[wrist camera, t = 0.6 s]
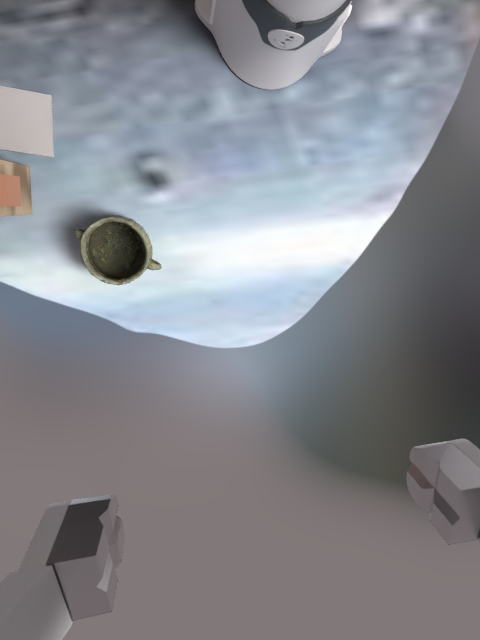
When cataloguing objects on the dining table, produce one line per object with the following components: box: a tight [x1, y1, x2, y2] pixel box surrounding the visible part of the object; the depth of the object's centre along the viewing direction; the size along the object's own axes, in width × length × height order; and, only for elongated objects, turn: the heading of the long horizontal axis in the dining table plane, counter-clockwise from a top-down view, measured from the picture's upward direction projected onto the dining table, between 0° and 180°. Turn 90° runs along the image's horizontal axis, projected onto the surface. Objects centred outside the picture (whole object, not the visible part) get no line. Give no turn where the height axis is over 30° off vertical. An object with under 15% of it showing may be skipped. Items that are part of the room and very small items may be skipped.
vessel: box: [74, 216, 162, 285], centre depth 46 cm, size 12×9×6 cm
